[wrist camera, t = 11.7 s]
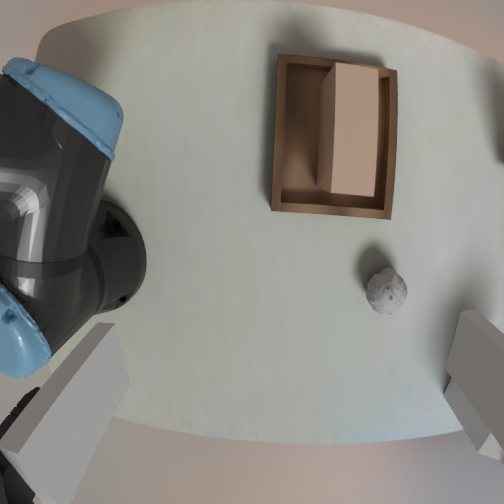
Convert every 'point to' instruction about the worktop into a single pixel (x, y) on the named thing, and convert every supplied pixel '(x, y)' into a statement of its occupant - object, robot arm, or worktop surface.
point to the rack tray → (307, 139)
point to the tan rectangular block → (348, 130)
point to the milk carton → (472, 423)
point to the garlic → (386, 291)
